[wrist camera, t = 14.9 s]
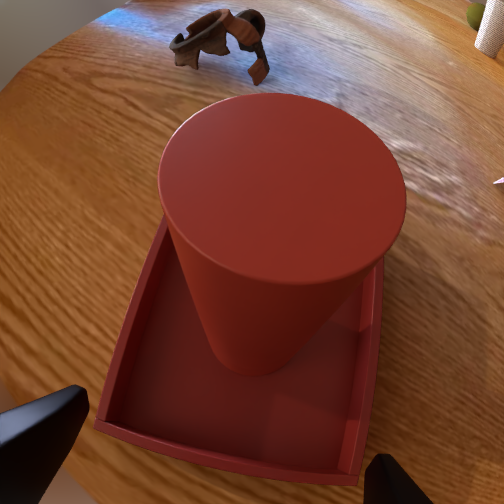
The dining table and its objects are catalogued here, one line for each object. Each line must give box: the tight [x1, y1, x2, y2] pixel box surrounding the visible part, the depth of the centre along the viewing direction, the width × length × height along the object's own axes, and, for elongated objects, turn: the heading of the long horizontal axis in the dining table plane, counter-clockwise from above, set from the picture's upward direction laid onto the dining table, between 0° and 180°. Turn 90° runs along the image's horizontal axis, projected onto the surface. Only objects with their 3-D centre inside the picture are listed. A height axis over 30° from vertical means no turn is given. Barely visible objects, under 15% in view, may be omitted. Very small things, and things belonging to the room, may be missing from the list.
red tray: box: [93, 215, 384, 486], centre depth 17 cm, size 15×13×3 cm
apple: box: [466, 3, 486, 31], centre depth 56 cm, size 10×10×11 cm
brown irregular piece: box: [169, 9, 270, 85], centre depth 29 cm, size 12×10×8 cm
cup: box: [475, 0, 504, 58], centre depth 42 cm, size 8×8×16 cm
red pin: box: [157, 93, 406, 376], centre depth 12 cm, size 5×5×13 cm
